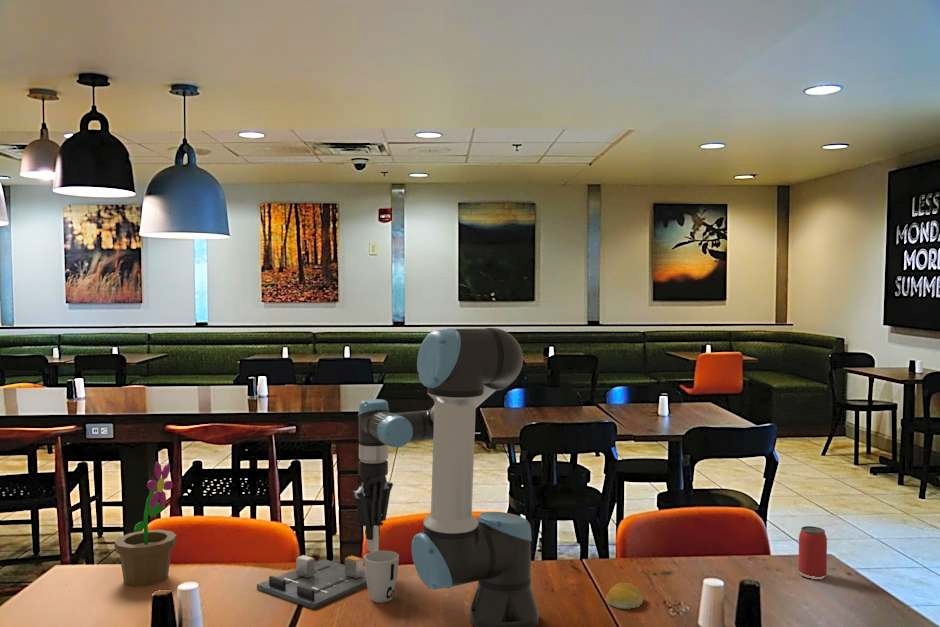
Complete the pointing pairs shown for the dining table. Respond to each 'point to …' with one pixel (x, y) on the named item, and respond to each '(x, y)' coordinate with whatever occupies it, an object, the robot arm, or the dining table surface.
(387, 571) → the cup
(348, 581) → the console
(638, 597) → the bread roll
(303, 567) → the far fader
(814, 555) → the beer can
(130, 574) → the flowerpot
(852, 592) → the dining table surface
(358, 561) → the near fader
